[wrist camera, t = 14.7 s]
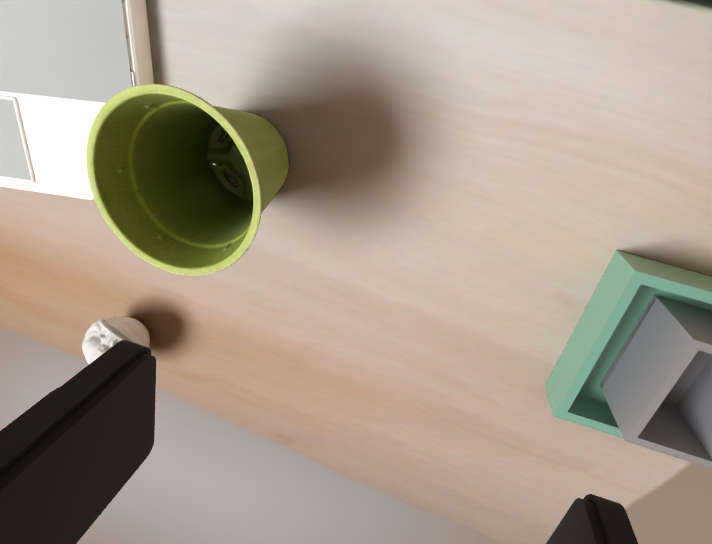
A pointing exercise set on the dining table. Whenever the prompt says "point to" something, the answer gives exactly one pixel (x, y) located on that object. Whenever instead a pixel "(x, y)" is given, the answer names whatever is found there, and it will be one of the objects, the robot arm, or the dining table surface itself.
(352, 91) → the dining table surface
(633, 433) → the small crate
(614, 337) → the big crate
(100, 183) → the plant pot
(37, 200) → the dining table surface
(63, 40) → the laptop
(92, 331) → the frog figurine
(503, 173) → the dining table surface
